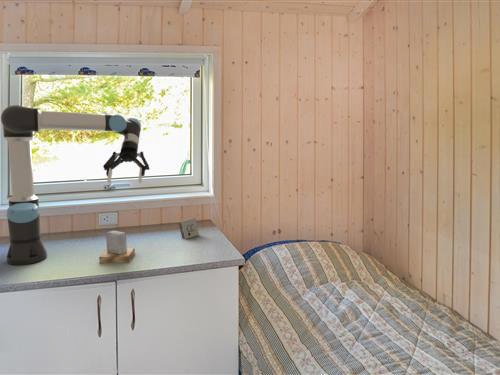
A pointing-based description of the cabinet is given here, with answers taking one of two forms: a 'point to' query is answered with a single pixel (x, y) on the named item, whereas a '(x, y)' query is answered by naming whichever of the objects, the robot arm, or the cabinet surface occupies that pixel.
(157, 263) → the cabinet surface
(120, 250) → the grey curved block
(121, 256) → the plinth
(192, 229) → the electrical switch
